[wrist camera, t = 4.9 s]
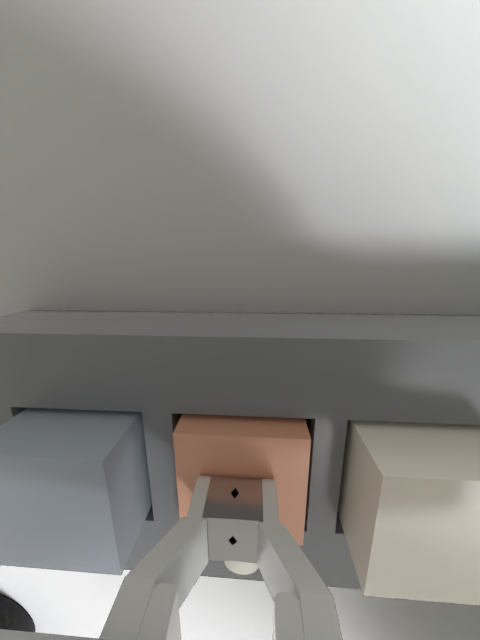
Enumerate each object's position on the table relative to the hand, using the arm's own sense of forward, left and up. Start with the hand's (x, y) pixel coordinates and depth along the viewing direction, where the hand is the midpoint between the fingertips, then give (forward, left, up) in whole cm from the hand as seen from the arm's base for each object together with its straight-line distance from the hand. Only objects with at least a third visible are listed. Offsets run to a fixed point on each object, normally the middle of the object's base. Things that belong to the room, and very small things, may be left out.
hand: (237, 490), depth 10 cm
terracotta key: (0, 0, -4) cm, 4 cm away
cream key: (-7, 0, -3) cm, 7 cm away
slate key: (+7, 0, -3) cm, 7 cm away
